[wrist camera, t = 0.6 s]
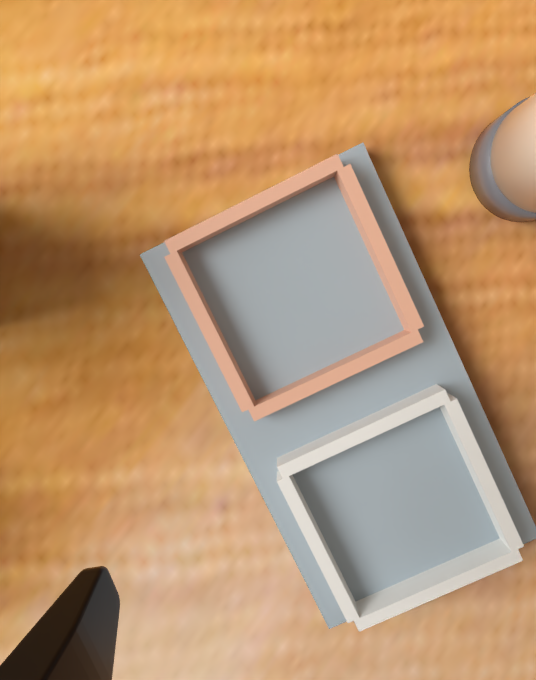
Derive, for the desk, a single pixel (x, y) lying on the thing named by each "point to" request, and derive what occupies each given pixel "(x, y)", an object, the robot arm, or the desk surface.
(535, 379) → the desk surface
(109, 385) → the desk surface
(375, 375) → the socket board
